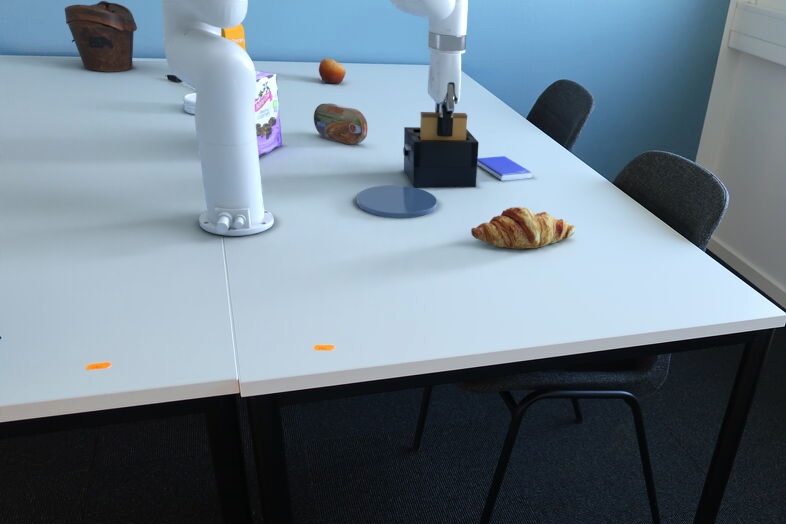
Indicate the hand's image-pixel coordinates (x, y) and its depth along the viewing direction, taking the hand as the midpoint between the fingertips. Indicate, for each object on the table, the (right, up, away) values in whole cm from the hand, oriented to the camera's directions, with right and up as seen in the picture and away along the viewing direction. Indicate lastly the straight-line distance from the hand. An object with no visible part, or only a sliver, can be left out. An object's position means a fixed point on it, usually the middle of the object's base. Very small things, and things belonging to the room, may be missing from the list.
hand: (443, 133), depth 160 cm
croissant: (+18, -26, -17) cm, 36 cm away
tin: (-28, +6, +25) cm, 38 cm away
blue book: (+12, -4, +18) cm, 22 cm away
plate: (-8, -16, -7) cm, 20 cm away
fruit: (-45, +39, +75) cm, 95 cm away
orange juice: (-73, +35, +64) cm, 103 cm away
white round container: (-66, +16, +34) cm, 76 cm away
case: (-107, +38, +62) cm, 130 cm away
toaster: (-2, -8, +8) cm, 11 cm away
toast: (-1, -5, +3) cm, 6 cm away
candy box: (-44, -1, +11) cm, 46 cm away
